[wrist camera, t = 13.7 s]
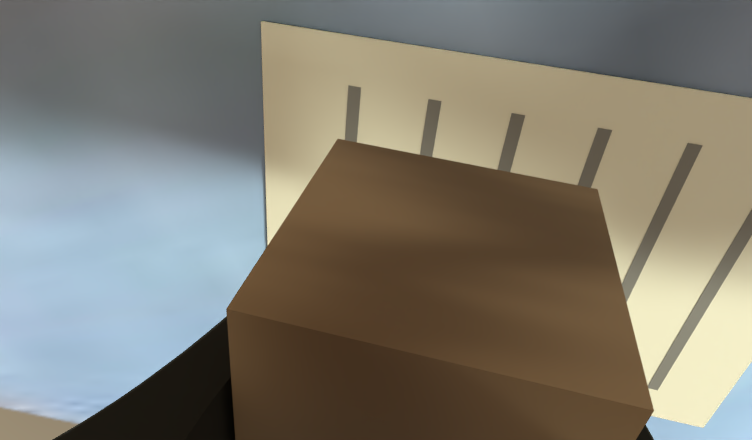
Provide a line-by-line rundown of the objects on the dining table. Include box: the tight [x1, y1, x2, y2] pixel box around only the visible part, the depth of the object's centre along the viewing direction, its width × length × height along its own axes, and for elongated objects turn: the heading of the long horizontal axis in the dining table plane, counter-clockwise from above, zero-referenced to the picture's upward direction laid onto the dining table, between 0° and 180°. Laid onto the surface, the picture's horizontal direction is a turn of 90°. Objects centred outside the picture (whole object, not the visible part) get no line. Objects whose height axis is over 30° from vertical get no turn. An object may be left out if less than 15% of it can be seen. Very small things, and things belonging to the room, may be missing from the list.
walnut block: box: [226, 139, 654, 440], centre depth 10 cm, size 5×5×5 cm
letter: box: [261, 21, 752, 428], centre depth 19 cm, size 18×13×1 cm
